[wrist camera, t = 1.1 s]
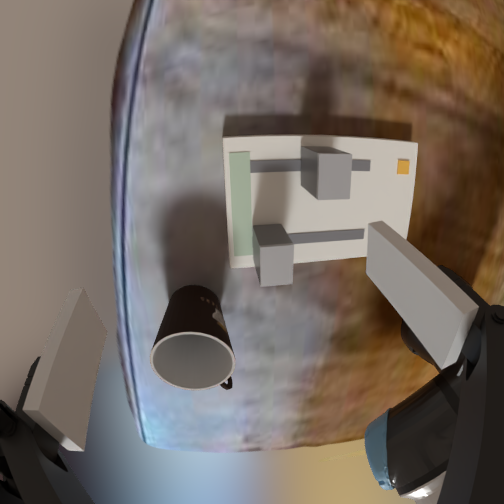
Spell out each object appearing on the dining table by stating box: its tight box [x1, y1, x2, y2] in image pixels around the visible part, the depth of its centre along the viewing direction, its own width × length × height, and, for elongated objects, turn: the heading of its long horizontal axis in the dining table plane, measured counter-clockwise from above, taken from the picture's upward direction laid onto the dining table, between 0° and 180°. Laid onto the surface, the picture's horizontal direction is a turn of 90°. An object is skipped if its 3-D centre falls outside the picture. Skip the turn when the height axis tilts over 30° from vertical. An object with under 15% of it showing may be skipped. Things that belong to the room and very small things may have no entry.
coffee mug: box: [150, 285, 235, 390], centre depth 34 cm, size 12×9×10 cm
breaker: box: [252, 224, 294, 287], centre depth 30 cm, size 3×4×5 cm
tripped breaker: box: [301, 146, 352, 200], centre depth 27 cm, size 3×4×5 cm
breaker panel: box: [222, 134, 418, 269], centre depth 33 cm, size 22×14×2 cm, turn 91°
